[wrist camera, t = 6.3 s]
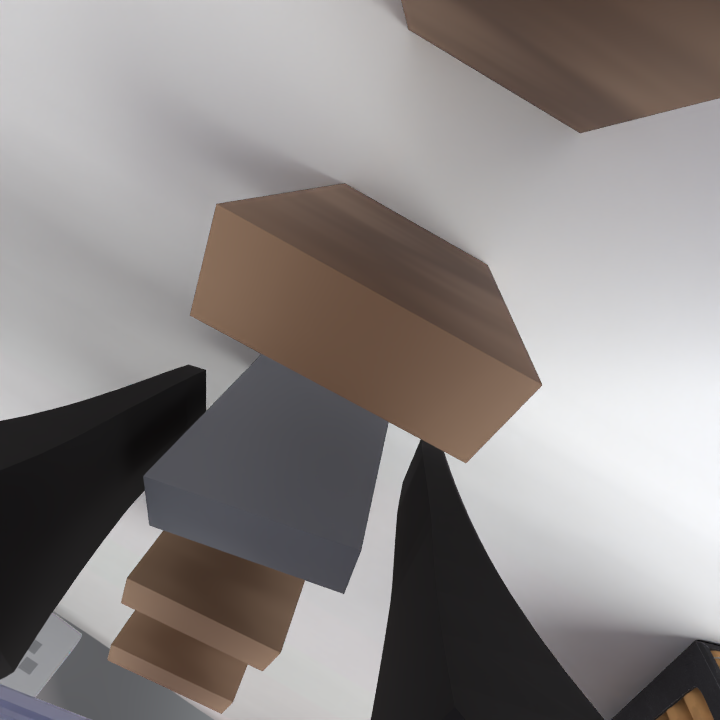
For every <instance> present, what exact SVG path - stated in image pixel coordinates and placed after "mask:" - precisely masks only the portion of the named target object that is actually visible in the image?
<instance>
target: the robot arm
mask: <svg viewBox="0 0 720 720" xmlns="http://www.w3.org/2000/svg"><path fill="white" fill-rule="evenodd" d="M205 412H206V370H204V369H201V368H198V367H195V366H191V365H186V366H183V367H180V368H177V369H174V370H171V371H168V372H165V373H162V374H160V375H157V376H154V377H151V378H149V379H146V380H143V381H140V382H138V383H135V384H132V385H129V386H126V387H124V388H121V389H118V390H115V391H112V392H109V393H105V394H102V395H99V396H96V397H93V398H90V399H87V400H84V401H80V402H77V403H74V404H70V405H67V406H63V407H59V408H56V409H52V410H48V411H44V412H40V413H36V414H32V415H27V416H23V417H18V418H13V419H8V420H3V421H0V680H1V679H3V678H5V677H7V676H8V675H10V674H12V673H13V672H14V671H15V670H16V668H17V667H18V665H19V663H20V662H21V660H22V658H23V657H24V655H25V654H26V652H27V651H28V649H29V648H30V646H31V644H32V643H33V641H34V640H35V638H36V637H37V635H38V634H39V632H40V631H41V629H42V628H43V626H44V624H45V623H46V621H47V620H48V618H49V617H50V615H51V614H52V612H53V611H54V609H55V608H56V606H57V605H58V603H59V602H60V601H61V599H62V598H63V596H64V595H65V593H66V592H67V590H68V589H69V588H70V586H71V585H72V583H73V582H74V580H75V579H76V577H77V576H78V575H79V573H80V572H81V570H82V569H83V568H84V566H85V565H86V564H87V562H88V561H89V559H90V558H91V557H92V555H93V554H94V553H95V551H96V550H97V549H98V547H99V546H100V544H101V543H102V542H103V540H104V539H105V538H106V536H107V535H108V534H109V533H110V531H111V530H112V529H113V527H114V526H115V525H116V524H117V522H118V521H119V520H120V518H121V517H122V516H123V514H124V513H125V512H126V511H127V510H128V508H129V507H130V506H131V505H132V504H133V503H134V501H135V500H136V499H137V498H138V497H139V496H140V495H141V494H142V493H143V492H144V491H145V486H144V479H143V476H144V475H145V474H146V473H147V472H148V471H149V469H150V468H151V467H152V466H153V465H154V464H155V463H156V462H157V461H158V460H159V459H160V458H161V457H162V456H163V455H164V454H165V453H166V452H167V451H168V450H169V449H170V448H171V447H172V446H173V445H174V444H175V443H176V442H177V441H178V440H179V439H180V438H181V437H182V436H183V435H184V433H185V432H186V431H187V430H188V429H189V428H190V427H191V426H192V425H193V424H194V423H195V422H196V421H197V420H198V419H199V418H200V417H201V416H202V415H203V414H204V413H205ZM0 720H91V719H88V718H85V717H83V716H81V715H78V714H75V713H73V712H70V711H68V710H65V709H63V708H60V707H58V706H55V705H53V704H50V703H48V702H45V701H42V700H40V699H37V698H35V697H32V696H30V695H27V694H25V693H22V692H20V691H17V690H14V689H12V688H9V687H7V686H4V685H2V684H0ZM371 720H604V719H603V718H602V716H601V715H600V714H599V713H598V711H597V710H596V709H595V708H594V706H593V705H592V704H591V703H590V702H589V700H588V699H587V698H586V697H585V695H584V694H583V693H582V692H581V690H580V689H579V688H578V687H577V686H576V684H575V683H574V682H573V681H572V679H571V678H570V677H569V676H568V674H567V673H566V672H565V670H564V669H563V668H562V666H561V665H560V664H559V662H558V661H557V660H556V658H555V657H554V656H553V654H552V653H551V652H550V650H549V649H548V648H547V646H546V645H545V644H544V642H543V641H542V639H541V638H540V637H539V635H538V634H537V632H536V631H535V630H534V628H533V627H532V625H531V624H530V622H529V621H528V619H527V618H526V616H525V615H524V613H523V612H522V610H521V609H520V607H519V606H518V604H517V603H516V601H515V600H514V598H513V597H512V595H511V594H510V592H509V590H508V589H507V587H506V586H505V584H504V582H503V581H502V579H501V577H500V576H499V574H498V572H497V570H496V569H495V567H494V565H493V563H492V562H491V560H490V558H489V556H488V554H487V552H486V551H485V549H484V547H483V545H482V543H481V541H480V539H479V537H478V535H477V533H476V531H475V529H474V526H473V524H472V522H471V520H470V518H469V516H468V514H467V511H466V509H465V507H464V504H463V502H462V499H461V497H460V495H459V492H458V490H457V487H456V485H455V482H454V479H453V477H452V474H451V471H450V468H449V465H448V463H447V460H446V457H445V453H444V451H442V450H440V449H438V448H437V447H435V446H433V445H431V444H429V443H427V442H425V441H424V440H422V439H421V440H420V443H419V445H418V447H417V450H416V452H415V455H414V457H413V459H412V462H411V464H410V466H409V469H408V471H407V474H406V476H405V478H404V481H403V484H402V489H401V495H400V500H399V506H398V512H397V523H396V537H395V552H394V567H393V582H392V593H391V603H390V609H389V616H388V622H387V628H386V635H385V641H384V647H383V653H382V659H381V665H380V671H379V677H378V683H377V689H376V694H375V700H374V705H373V711H372V717H371Z"/></svg>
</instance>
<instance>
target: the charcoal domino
mask: <svg viewBox="0 0 720 720" xmlns="http://www.w3.org/2000/svg"><path fill="white" fill-rule="evenodd" d="M388 423H389V422H388V421H386V420H384V419H382V418H381V417H379V416H377V415H375V414H373V413H371V412H369V411H367V410H366V409H364V408H362V407H360V406H358V405H356V404H354V403H353V402H351V401H349V400H347V399H345V398H343V397H341V396H339V395H338V394H336V393H334V392H332V391H330V390H328V389H326V388H325V387H323V386H321V385H319V384H317V383H315V382H313V381H311V380H310V379H308V378H306V377H304V376H302V375H300V374H298V373H297V372H295V371H293V370H291V369H289V368H287V367H285V366H283V365H282V364H280V363H278V362H276V361H274V360H272V359H270V358H268V357H267V356H265V355H263V354H261V355H260V356H259V357H258V358H257V359H256V360H255V362H254V363H253V364H252V365H251V366H250V367H249V368H248V369H247V370H246V371H245V372H244V373H243V374H242V375H241V376H240V377H239V378H238V379H237V380H236V381H235V382H234V383H233V384H232V385H231V386H230V387H229V388H228V389H227V390H226V391H225V392H224V393H223V394H222V395H221V396H220V398H219V399H218V400H217V401H216V402H215V403H214V404H213V405H212V406H211V407H210V408H209V409H208V410H207V411H206V412H205V413H204V414H203V415H202V416H201V417H200V418H199V419H198V420H197V421H196V422H195V423H194V424H193V425H192V426H191V427H190V428H189V429H188V430H187V431H186V432H185V433H184V435H183V436H182V437H181V438H180V439H179V440H178V441H177V442H176V443H175V444H174V445H173V446H172V447H171V448H170V449H169V450H168V451H167V452H166V453H165V454H164V455H163V456H162V457H161V458H160V459H159V460H158V461H157V462H156V463H155V464H154V465H153V466H152V467H151V468H150V469H149V471H148V472H147V473H146V474H145V475H144V476H143V479H144V486H145V494H146V502H147V510H148V518H149V525H150V526H153V527H155V528H158V529H161V530H164V531H167V532H170V533H173V534H175V535H178V536H181V537H184V538H187V539H190V540H192V541H195V542H198V543H201V544H204V545H207V546H209V547H212V548H215V549H218V550H221V551H224V552H226V553H229V554H232V555H235V556H238V557H241V558H243V559H246V560H249V561H252V562H255V563H258V564H260V565H263V566H266V567H269V568H272V569H275V570H277V571H280V572H283V573H286V574H289V575H292V576H295V577H297V578H300V579H303V580H306V581H309V582H312V583H314V584H317V585H320V586H323V587H326V588H329V589H331V590H334V591H337V592H340V593H343V594H344V593H345V590H346V588H347V585H348V583H349V580H350V577H351V575H352V572H353V570H354V567H355V565H356V562H357V560H358V557H359V555H360V552H361V549H362V544H363V539H364V535H365V530H366V525H367V521H368V516H369V511H370V507H371V502H372V497H373V493H374V488H375V483H376V479H377V474H378V469H379V465H380V460H381V455H382V451H383V446H384V441H385V437H386V432H387V427H388Z"/></svg>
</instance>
